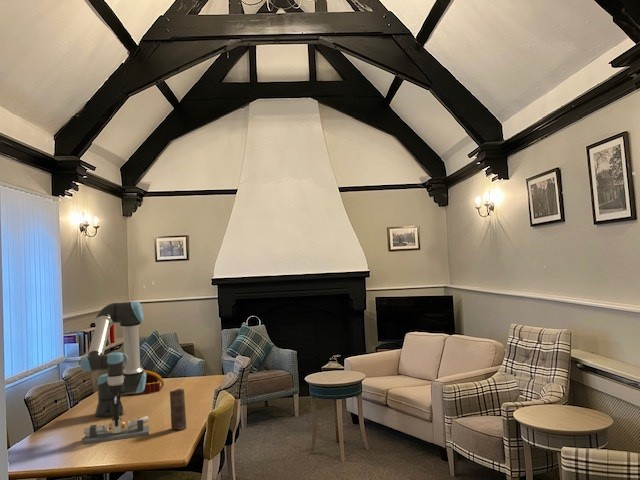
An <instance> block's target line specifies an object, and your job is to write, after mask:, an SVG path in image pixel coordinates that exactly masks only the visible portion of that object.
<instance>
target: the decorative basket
mask: <svg viewBox="0 0 640 480" xmlns="http://www.w3.org/2000/svg"><path fill="white" fill-rule="evenodd" d="M143 372H146V384H145V389H144V391H143V392H141V393H140V394H152V393H159V392H160V391H161V389H162V388H163V387H164V386H165V381H164V379H163V378H162V376H161V375H160V374H158V373H157V372H154V371H151V370H147V369H143ZM121 395H124V394H121Z"/></svg>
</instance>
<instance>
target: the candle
mask: <svg viewBox="0 0 640 480" xmlns="http://www.w3.org/2000/svg"><path fill="white" fill-rule="evenodd" d="M185 399H186V398H185V389H184V388H177V389H174V390H169V400H170V401H169V402H170V423H171V424H170V425H171V429H173V430H174V429H175V430H186V429H187V416H186V415H187V414H186V400H185Z"/></svg>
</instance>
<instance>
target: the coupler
mask: <svg viewBox="0 0 640 480" xmlns="http://www.w3.org/2000/svg"><path fill="white" fill-rule="evenodd" d="M119 421H120V433H122V429H125V427H126V425H125V423H126V422H125V421H123V417H120V418H119ZM108 431H112V434H114V420H112V419H111V423H108Z"/></svg>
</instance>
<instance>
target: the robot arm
mask: <svg viewBox="0 0 640 480" xmlns="http://www.w3.org/2000/svg"><path fill="white" fill-rule="evenodd" d="M143 321H144V309H143V306H142V304H141V302H139V301H122V302H112V303H109V304H107V305H105V306H104V307H103V308H102V309H101V310H99V312H98V313H97V314H96V316H95V320H94V325H95V327H94V332H93V335H92V339H91V342H90V346H89V349H88V354H87V355H86V356H85V355H84V356H83V357H82V358H81V360H80V369H81V371H83V372H93V371H104V370H106V371H107V373H103V374H101V375H99V376H98V377H97V399H98V401H97V406H96V407H95V411H94V412H95V415H94V416H95V417H96V416H97V418H109V417H112V418H111V421H112V420H114V433H120V421H119V418H121V417H122V414H123V413H124V406H123V403H122V401H121V397H122V396H121V394H123V395H128V394H129V395H131V394H142V393H141V392H143V391H144V389H145V384H146V372H143V370H144V368H143V367H142V366H141V357H140V356H141V354H140V353H141V351H140V333H139V327H140V326H141V325H142V322H143ZM118 323H119V327H120V328H122V334H123V335H122V337H123V338H122V340H123V352H121V351H117V352H111V353H108V354H105V349H106V345H107V341H108V337H109V333H110V329H111V327H112V326H113V324H118Z"/></svg>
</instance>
